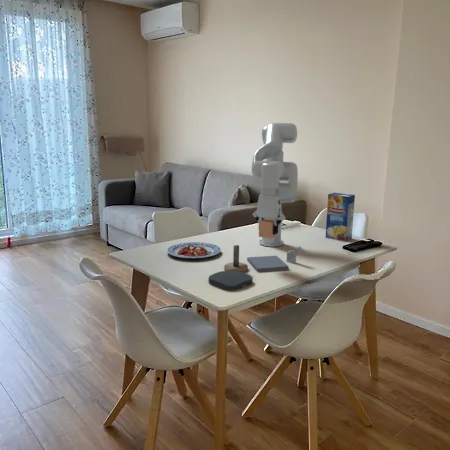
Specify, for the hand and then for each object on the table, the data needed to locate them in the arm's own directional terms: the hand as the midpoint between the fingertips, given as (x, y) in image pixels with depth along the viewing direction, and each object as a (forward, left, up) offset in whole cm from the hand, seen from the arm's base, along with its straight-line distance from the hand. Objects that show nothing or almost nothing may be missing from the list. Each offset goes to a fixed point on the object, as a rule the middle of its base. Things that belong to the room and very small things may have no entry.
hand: (268, 232), depth 197 cm
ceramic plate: (-24, -29, -15) cm, 41 cm away
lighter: (-1, +13, -15) cm, 20 cm away
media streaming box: (+18, -21, -15) cm, 31 cm away
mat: (0, 0, -15) cm, 15 cm away
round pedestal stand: (+3, -15, -15) cm, 21 cm away
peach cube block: (0, 0, -2) cm, 2 cm away
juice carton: (-37, +53, -15) cm, 66 cm away
